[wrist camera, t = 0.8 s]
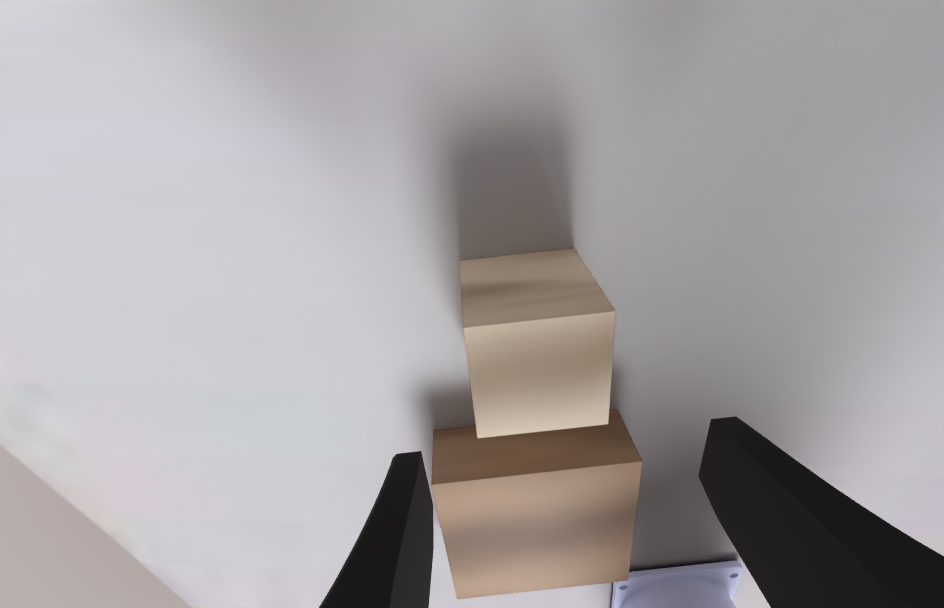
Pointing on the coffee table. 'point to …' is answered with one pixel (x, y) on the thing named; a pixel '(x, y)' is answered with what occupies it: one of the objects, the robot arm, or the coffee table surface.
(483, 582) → the tan flat block
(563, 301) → the maple cube
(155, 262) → the coffee table surface
